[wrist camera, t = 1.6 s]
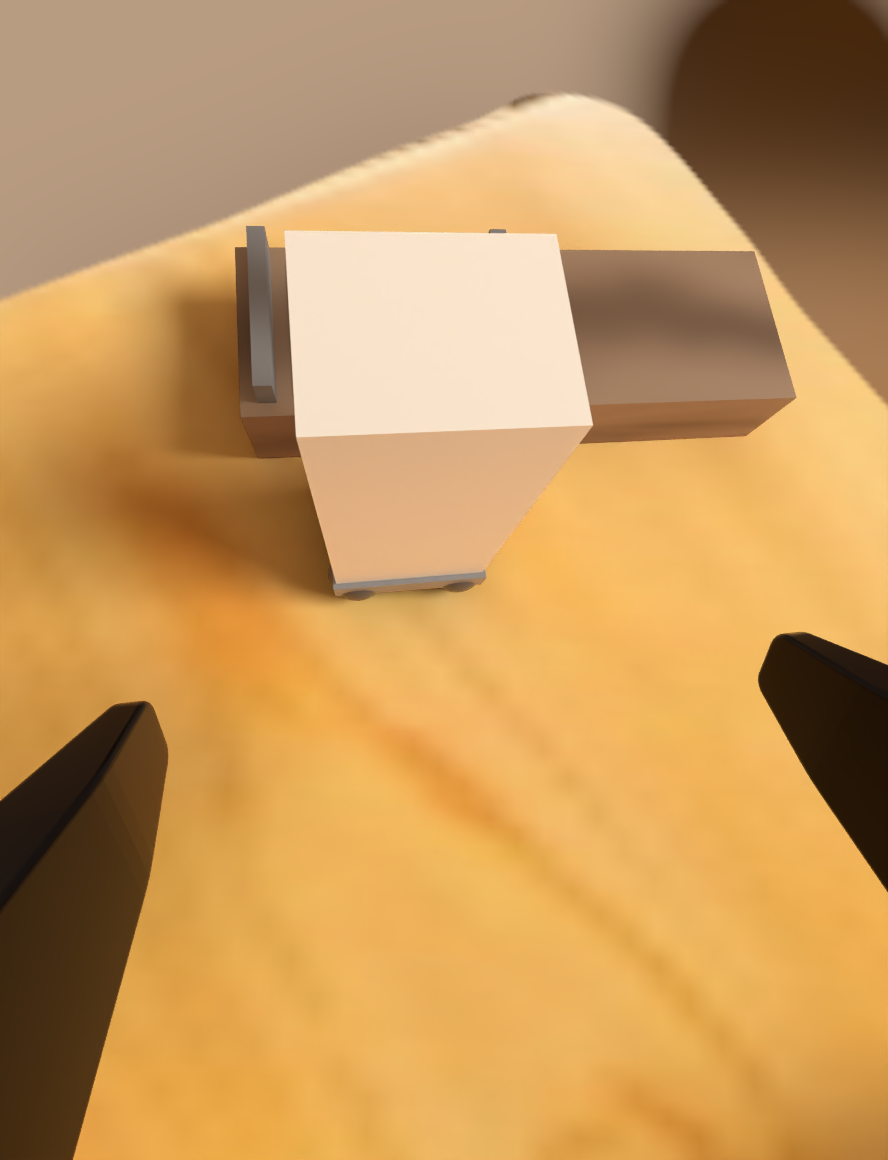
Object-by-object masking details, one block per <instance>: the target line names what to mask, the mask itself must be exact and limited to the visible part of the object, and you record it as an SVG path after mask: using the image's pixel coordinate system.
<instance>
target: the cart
mask: <svg viewBox="0 0 888 1160" xmlns="http://www.w3.org/2000/svg"><path fill="white" fill-rule="evenodd" d="M284 233H285V250H286V268H287V286H288V304H289V321H290V339H291V357H292V374H293V392H294V410H295V427H296V439H297V443H298V446H299V450H300V454H301V457H302V461H303V465H304V468H305V472H306V475H307V479H308V483H309V486H310V490H311V494H312V497H313V501H314V505H315V508H316V512H317V516H318V519H319V523H320V527H321V530H322V534H323V537H324V541H325V545H326V548H327V552H328V556H329V559H330V564H329V568H328V576H329V581H330V584H331V586H332V587H333V589H334V593H335V596H342V597H344V598H346V599H349V600H354V601H360V600H365V599H367V598H370V597H372V596H373V595H374V594H376V593H382V592H394V591H406V590H418V589H430V588H443V589H445V590H447V591H450V592H463V591H466V590H468V589H470V588H472V587H473V586H474V585H479V584H481V583H482V582H483V581H484V580H485V578H486V573H485V568H486V567H487V566H488V564H489V563H490V562H491V560H492V559H493V558H494V556H495V555H496V554H497V552H498V551H499V550H500V548H501V547H502V546H503V544H504V543H505V542H506V540H507V539H508V538H509V536H510V535H511V534H512V532H513V531H514V530H515V528H516V527H517V526H518V524H519V523H520V522H521V520H522V519H523V518H524V516H525V515H526V514H527V512H528V511H529V510H530V509H531V507H532V506H533V505H534V503H535V502H536V501H537V499H538V498H539V497H540V495H541V494H542V493H543V491H544V490H545V489H546V487H547V486H548V485H549V483H550V482H551V481H552V479H553V478H554V477H555V475H556V474H557V473H558V471H559V470H560V469H561V467H562V466H563V465H564V463H565V462H566V461H567V459H568V458H569V457H570V455H571V454H572V453H573V451H574V450H575V449H576V447H577V446H578V445H579V443H580V442H581V441H582V439H583V438H584V437H585V435H586V434H587V433H588V431H589V430H590V429H591V427H592V426H593V422H592V417H591V412H590V406H589V401H588V396H587V391H586V386H585V380H584V375H583V370H582V365H581V360H580V354H579V349H578V344H577V339H576V333H575V328H574V323H573V318H572V313H571V307H570V302H569V297H568V292H567V287H566V281H565V276H564V271H563V266H562V260H561V255H560V250H559V245H558V240H557V234H518V233H438V232H357V231H284Z"/></svg>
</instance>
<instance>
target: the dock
mask: <svg viewBox="0 0 888 1160" xmlns="http://www.w3.org/2000/svg"><path fill="white" fill-rule="evenodd" d="M246 232H247V247H235V262H236V294H237V326H238V357H239V389H240V418H241V420H242V422H243V424H244V427H245V429H246V431H247V433H248V436H249V438H250V440H251V442H252V445H253V447H254V449H255V452H256V454H257V456H258V458H273V457H295V456H301V454H300V450H299V446H298V443H297V439H296V427H295V410H294V392H293V374H292V357H291V339H290V321H289V304H288V286H287V268H286V250H285V248H269V245H268V241H267V236H266V232H265V227H264V226H246ZM489 233H506V230H502V229H490V230H489ZM560 255H561V260H562V266H563V271H564V276H565V281H566V287H567V292H568V297H569V302H570V307H571V313H572V318H573V323H574V328H575V333H576V339H577V344H578V349H579V354H580V360H581V365H582V370H583V375H584V380H585V386H586V391H587V396H588V401H589V406H590V412H591V417H592V422H593V426H592V427H591V429H590V430H589V431H588V433H587V434H586V435H585V437H584V438H583V439H582V441H581V442H580V443H600V442H621V441H643V440H665V439H687V438H708V437H730V436H746V435H748V434H749V433H750V432H752V431H753V430H754V429H756V428H757V427H758V426H760V425H761V424H762V423H764V422H765V421H766V420H768V419H769V418H770V417H771V416H773V415H774V414H775V413H777V412H778V411H779V410H781V409H782V408H783V407H785V406H786V405H787V404H789V403H790V402H791V401H793V400H794V399H795V398H796V395H795V391H794V388H793V384H792V381H791V377H790V374H789V370H788V367H787V363H786V360H785V357H784V353H783V350H782V346H781V343H780V339H779V336H778V332H777V329H776V325H775V322H774V318H773V315H772V311H771V308H770V304H769V301H768V297H767V294H766V290H765V287H764V284H763V280H762V277H761V273H760V270H759V266H758V263H757V259H756V256H755V252H754V251H631V250H560Z"/></svg>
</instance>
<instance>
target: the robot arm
mask: <svg viewBox="0 0 888 1160" xmlns="http://www.w3.org/2000/svg"><path fill="white" fill-rule="evenodd" d="M758 683H759V687H760V690H761V692H762V694H763V696H764V698H765V699H766V701H767V703H768V705H769V707H770V708H771V710H772V712H773V714H774V716H775V717H776V719H777V721H778V723H779V725H780V726H781V728H782V730H783V732H784V733H785V735H786V737H787V739H788V741H789V742H790V744H791V746H792V748H793V750H794V751H795V753H796V755H797V757H798V758H799V760H800V762H801V764H802V766H803V767H804V769H805V771H806V772H807V774H808V776H809V777H810V779H811V781H812V782H813V784H814V785H815V787H816V788H817V790H818V791H819V793H820V794H821V796H822V797H823V799H824V800H825V802H826V803H827V804H828V806H829V807H830V809H831V810H832V812H833V813H834V815H835V816H836V818H837V819H838V820H839V822H840V823H841V825H842V826H843V828H844V829H845V831H846V832H847V834H848V835H849V837H850V838H851V839H852V841H853V842H854V844H855V845H856V847H857V848H858V850H859V851H860V853H861V854H862V855H863V857H864V858H865V860H866V861H867V863H868V864H869V866H870V867H871V869H872V870H873V871H874V873H875V874H876V876H877V877H878V879H879V880H880V882H881V883H882V885H883V886H884V888H885V889H886V890H887V892H888V665H887V664H884V663H882V662H879V661H877V660H874V659H872V658H869V657H867V656H864V655H862V654H859V653H857V652H854V651H852V650H849V649H847V648H844V647H842V646H839V645H837V644H834V643H832V642H829V641H827V640H824V639H822V638H819V637H817V636H814V635H812V634H809V633H806V632H795V633H785V634H780V635H778V636H776V637H775V638H774V639H773V641H772V642H771V645H770V647H769V650H768V652H767V655H766V657H765V660H764V662H763V664H762V667H761V669H760V672H759V675H758ZM167 765H168V748H167V743H166V741H165V738H164V735H163V732H162V730H161V727H160V724H159V721H158V719H157V716H156V713H155V710H154V708H153V706H152V705H151V704H150V703H149V702H146V701H138V702H129V703H120V704H116V705H113V706H112V707H110V708H109V709H107V710H106V711H105V712H104V713H103V714H102V715H100V716H99V717H98V718H97V719H96V720H95V721H93V722H92V723H91V724H90V725H89V726H88V727H86V728H85V729H84V730H83V731H82V732H81V733H79V734H78V735H77V736H76V737H75V738H73V739H72V740H71V741H70V742H69V743H68V744H66V745H65V746H64V747H63V748H62V749H61V750H59V751H58V752H57V753H56V754H55V755H54V756H52V757H51V758H50V759H49V760H48V761H46V762H45V763H44V764H43V765H42V766H41V767H39V768H38V769H37V770H36V771H35V772H34V773H32V774H31V775H30V776H29V777H28V778H27V779H25V780H24V781H23V782H22V783H21V784H19V785H18V786H17V787H16V788H15V789H14V790H12V791H11V792H10V793H9V794H8V795H7V796H5V797H4V798H3V799H2V800H1V801H0V1160H73V1157H74V1154H75V1150H76V1146H77V1143H78V1139H79V1135H80V1132H81V1128H82V1124H83V1121H84V1117H85V1113H86V1110H87V1106H88V1102H89V1099H90V1095H91V1091H92V1088H93V1084H94V1080H95V1077H96V1073H97V1069H98V1066H99V1062H100V1058H101V1055H102V1051H103V1047H104V1044H105V1040H106V1036H107V1033H108V1029H109V1025H110V1022H111V1018H112V1015H113V1011H114V1007H115V1004H116V1000H117V996H118V993H119V989H120V985H121V982H122V978H123V974H124V971H125V967H126V963H127V960H128V956H129V952H130V949H131V945H132V941H133V938H134V934H135V930H136V927H137V923H138V919H139V916H140V912H141V908H142V905H143V901H144V897H145V893H146V889H147V885H148V881H149V877H150V872H151V866H152V861H153V855H154V848H155V842H156V835H157V829H158V823H159V816H160V810H161V803H162V797H163V790H164V784H165V778H166V771H167Z"/></svg>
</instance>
